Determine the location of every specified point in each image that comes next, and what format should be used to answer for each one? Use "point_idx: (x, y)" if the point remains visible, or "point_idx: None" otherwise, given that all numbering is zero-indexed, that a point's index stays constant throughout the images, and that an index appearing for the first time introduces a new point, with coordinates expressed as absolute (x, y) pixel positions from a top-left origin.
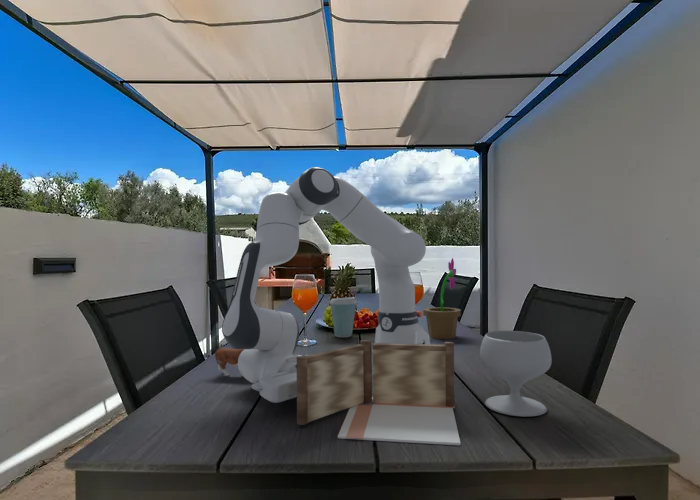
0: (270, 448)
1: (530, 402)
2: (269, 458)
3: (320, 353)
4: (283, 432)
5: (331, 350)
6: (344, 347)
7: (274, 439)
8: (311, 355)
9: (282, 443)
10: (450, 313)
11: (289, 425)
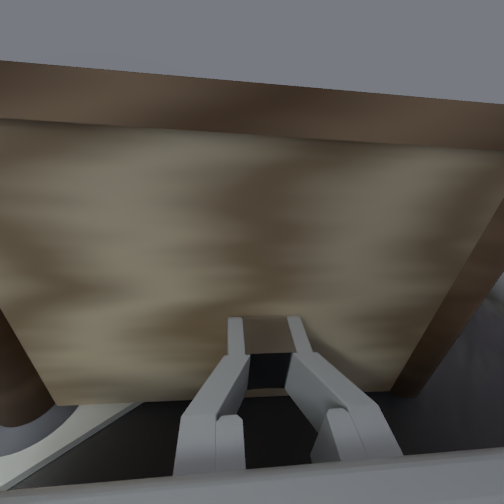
0: (494, 338)
1: None
2: (485, 308)
3: (398, 96)
4: (467, 396)
5: (271, 84)
6: (90, 69)
7: (493, 372)
8: (481, 103)
9: (461, 340)
10: None
11: (446, 439)
